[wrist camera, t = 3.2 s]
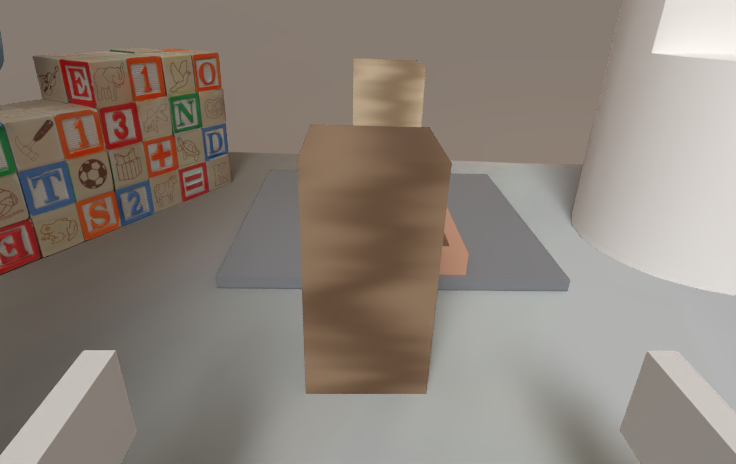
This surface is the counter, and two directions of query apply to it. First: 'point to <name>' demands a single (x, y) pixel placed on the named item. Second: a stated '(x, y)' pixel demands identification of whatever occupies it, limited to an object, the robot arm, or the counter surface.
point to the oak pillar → (388, 92)
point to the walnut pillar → (370, 255)
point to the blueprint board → (459, 251)
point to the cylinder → (666, 145)
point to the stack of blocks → (107, 146)
